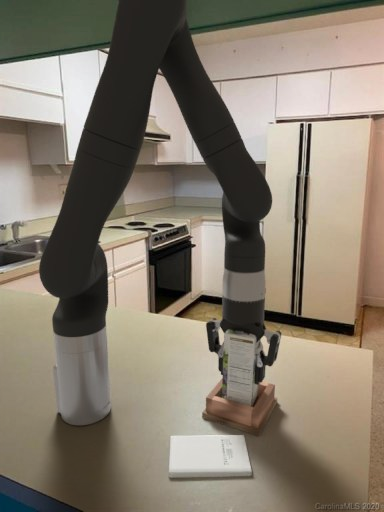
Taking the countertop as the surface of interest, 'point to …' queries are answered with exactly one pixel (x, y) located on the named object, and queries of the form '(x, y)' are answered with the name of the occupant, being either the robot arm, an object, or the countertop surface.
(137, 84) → the robot arm
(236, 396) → the syrup box
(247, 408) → the socket
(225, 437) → the external hard drive
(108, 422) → the countertop surface
